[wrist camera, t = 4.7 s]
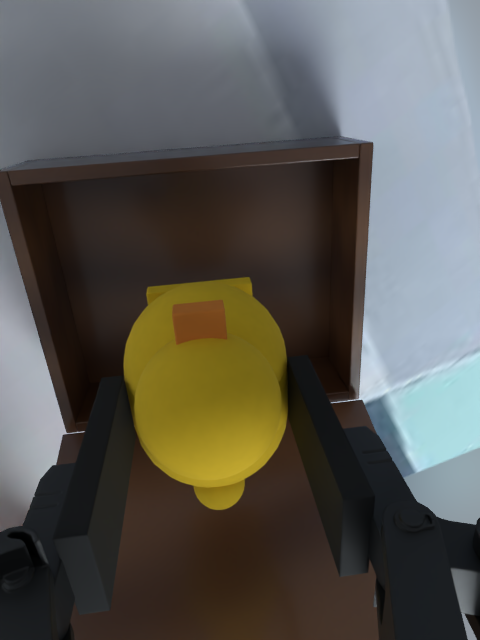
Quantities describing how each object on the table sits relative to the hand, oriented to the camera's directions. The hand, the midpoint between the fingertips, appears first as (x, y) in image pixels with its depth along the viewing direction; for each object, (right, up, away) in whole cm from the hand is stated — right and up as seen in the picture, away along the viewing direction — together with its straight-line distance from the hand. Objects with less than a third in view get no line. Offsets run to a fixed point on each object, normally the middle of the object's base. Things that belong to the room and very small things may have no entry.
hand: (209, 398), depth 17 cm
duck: (0, +2, +4) cm, 5 cm away
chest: (-1, +6, +13) cm, 15 cm away
